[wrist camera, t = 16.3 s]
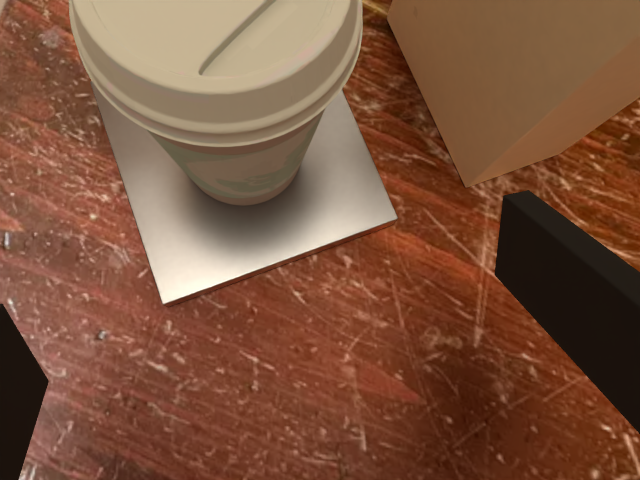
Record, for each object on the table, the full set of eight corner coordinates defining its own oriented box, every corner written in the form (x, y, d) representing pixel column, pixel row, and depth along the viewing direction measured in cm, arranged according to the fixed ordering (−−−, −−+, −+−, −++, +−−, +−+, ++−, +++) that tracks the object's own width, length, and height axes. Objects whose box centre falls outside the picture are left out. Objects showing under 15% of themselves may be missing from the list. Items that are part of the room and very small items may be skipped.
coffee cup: (178, 254, 23) (78, 150, 11) (139, 94, 25) (18, -138, 13) (350, 208, 24) (417, 72, 13) (302, 59, 26) (322, -182, 14)
